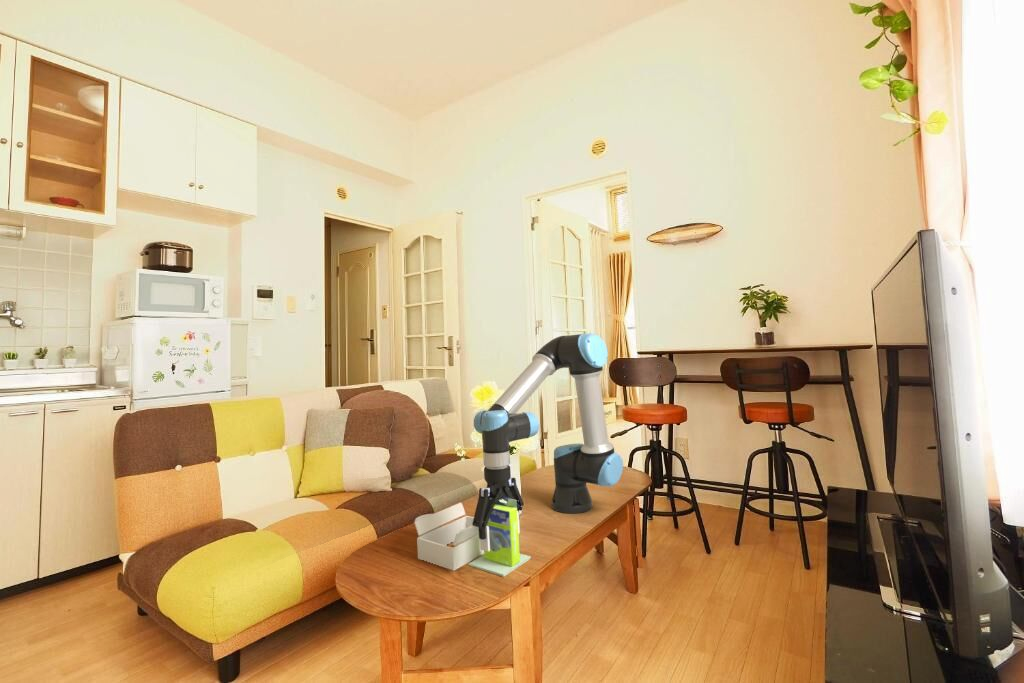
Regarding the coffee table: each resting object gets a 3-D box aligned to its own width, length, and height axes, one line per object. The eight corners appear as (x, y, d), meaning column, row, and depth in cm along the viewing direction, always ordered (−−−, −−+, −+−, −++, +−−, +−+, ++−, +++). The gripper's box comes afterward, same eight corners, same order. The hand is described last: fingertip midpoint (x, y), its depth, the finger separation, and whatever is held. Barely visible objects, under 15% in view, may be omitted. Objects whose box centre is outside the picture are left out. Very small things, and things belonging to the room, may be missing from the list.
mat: (496, 549, 140) (496, 547, 140) (530, 558, 132) (530, 556, 132) (468, 565, 130) (468, 563, 130) (503, 576, 122) (503, 574, 122)
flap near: (498, 521, 144) (501, 510, 143) (499, 522, 144) (503, 511, 143) (453, 544, 128) (456, 532, 127) (454, 545, 128) (458, 533, 127)
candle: (414, 535, 154) (413, 516, 155) (441, 530, 157) (440, 512, 157) (417, 545, 146) (416, 525, 146) (445, 540, 149) (444, 520, 149)
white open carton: (466, 533, 153) (465, 515, 153) (501, 543, 144) (500, 523, 144) (417, 558, 136) (416, 538, 136) (453, 570, 127) (452, 548, 128)
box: (483, 558, 132) (480, 498, 133) (492, 553, 136) (489, 494, 136) (512, 567, 126) (509, 504, 126) (521, 562, 129) (518, 499, 130)
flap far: (464, 514, 153) (460, 502, 154) (465, 514, 153) (461, 502, 154) (418, 535, 137) (413, 522, 138) (419, 535, 137) (414, 521, 138)
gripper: (512, 455, 143) (516, 524, 143) (456, 475, 124) (460, 555, 123) (532, 457, 139) (536, 528, 138) (477, 478, 119) (482, 561, 119)
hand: (501, 541), depth 131 cm, fingers open, 13 cm apart
